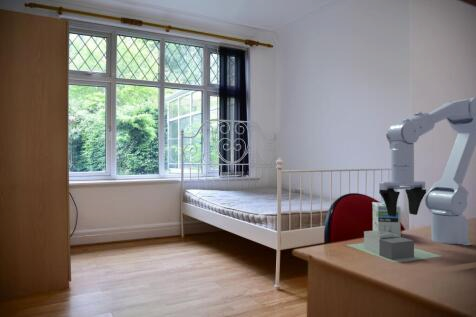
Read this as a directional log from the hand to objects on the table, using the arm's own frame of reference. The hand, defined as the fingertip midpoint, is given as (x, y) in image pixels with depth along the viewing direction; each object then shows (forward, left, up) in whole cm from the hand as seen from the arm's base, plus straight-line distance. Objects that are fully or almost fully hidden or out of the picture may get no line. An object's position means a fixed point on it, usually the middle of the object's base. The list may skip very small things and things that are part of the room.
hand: (402, 215), depth 98 cm
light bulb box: (-6, -13, -10) cm, 17 cm away
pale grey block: (+10, +3, -8) cm, 13 cm away
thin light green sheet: (+7, +3, -9) cm, 12 cm away
